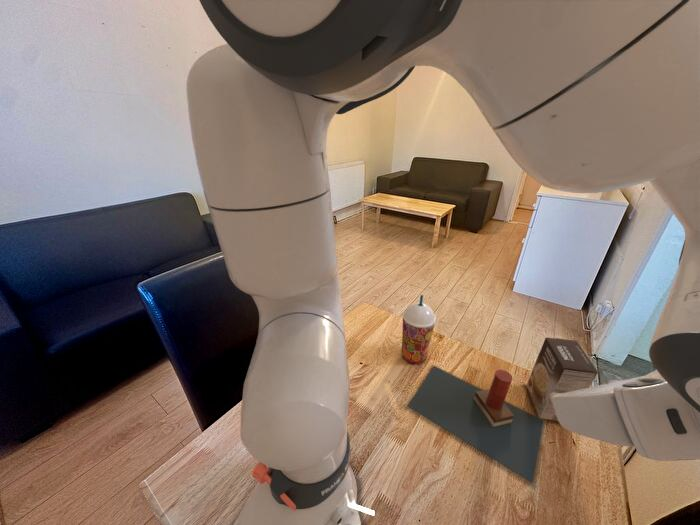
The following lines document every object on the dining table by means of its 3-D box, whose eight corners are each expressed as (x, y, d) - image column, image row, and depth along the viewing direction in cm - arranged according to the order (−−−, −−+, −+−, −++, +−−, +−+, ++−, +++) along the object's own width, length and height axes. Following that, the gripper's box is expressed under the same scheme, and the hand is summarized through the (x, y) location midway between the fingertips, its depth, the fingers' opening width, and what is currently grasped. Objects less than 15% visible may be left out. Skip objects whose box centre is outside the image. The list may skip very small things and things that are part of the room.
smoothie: (392, 355, 79) (397, 295, 70) (410, 341, 84) (417, 283, 75) (417, 372, 74) (426, 310, 65) (435, 356, 79) (446, 296, 70)
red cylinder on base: (511, 422, 61) (525, 387, 56) (493, 427, 60) (505, 391, 55) (490, 395, 67) (501, 361, 62) (473, 398, 66) (483, 364, 61)
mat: (531, 485, 51) (532, 483, 51) (406, 407, 65) (407, 406, 65) (542, 422, 62) (543, 420, 61) (433, 367, 75) (433, 365, 75)
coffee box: (524, 385, 70) (544, 335, 63) (552, 390, 69) (576, 339, 62) (538, 420, 62) (563, 367, 55) (570, 425, 61) (600, 372, 54)
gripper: (759, 359, 32) (628, 359, 45) (614, 392, 28) (516, 381, 41) (793, 422, 30) (646, 403, 43) (643, 465, 26) (530, 430, 39)
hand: (581, 392), depth 42 cm, fingers open, 8 cm apart
